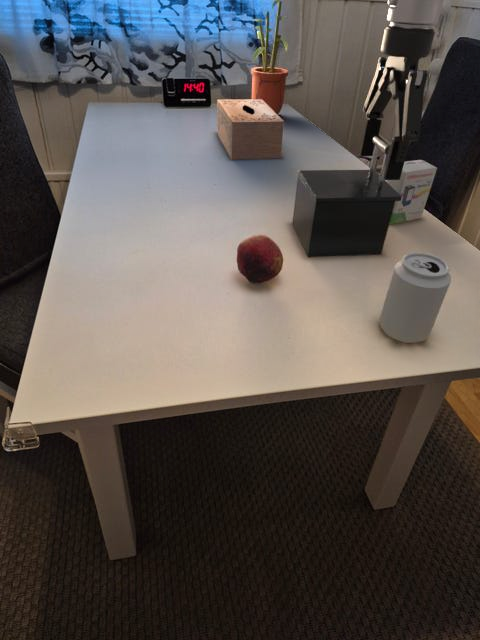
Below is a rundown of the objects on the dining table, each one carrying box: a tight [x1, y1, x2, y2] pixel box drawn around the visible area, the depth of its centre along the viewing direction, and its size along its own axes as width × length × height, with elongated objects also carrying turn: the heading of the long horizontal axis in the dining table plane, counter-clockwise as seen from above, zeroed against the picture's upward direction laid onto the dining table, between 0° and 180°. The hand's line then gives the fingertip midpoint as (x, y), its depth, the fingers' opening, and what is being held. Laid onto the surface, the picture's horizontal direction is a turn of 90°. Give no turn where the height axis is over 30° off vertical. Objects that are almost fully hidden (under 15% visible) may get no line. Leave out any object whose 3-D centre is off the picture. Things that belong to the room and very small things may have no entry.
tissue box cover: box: [216, 98, 285, 161], centre depth 133 cm, size 26×14×10 cm, turn 11°
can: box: [378, 251, 452, 344], centre depth 64 cm, size 8×8×12 cm
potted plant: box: [250, 0, 289, 115], centre depth 154 cm, size 17×16×35 cm
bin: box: [291, 174, 395, 258], centre depth 87 cm, size 15×14×11 cm
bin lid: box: [297, 134, 402, 202], centre depth 81 cm, size 16×14×9 cm
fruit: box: [236, 234, 284, 285], centre depth 74 cm, size 8×8×8 cm
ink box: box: [386, 159, 438, 225], centre depth 95 cm, size 9×5×12 cm, turn 114°
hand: (378, 166), depth 82 cm, fingers open, 12 cm apart
